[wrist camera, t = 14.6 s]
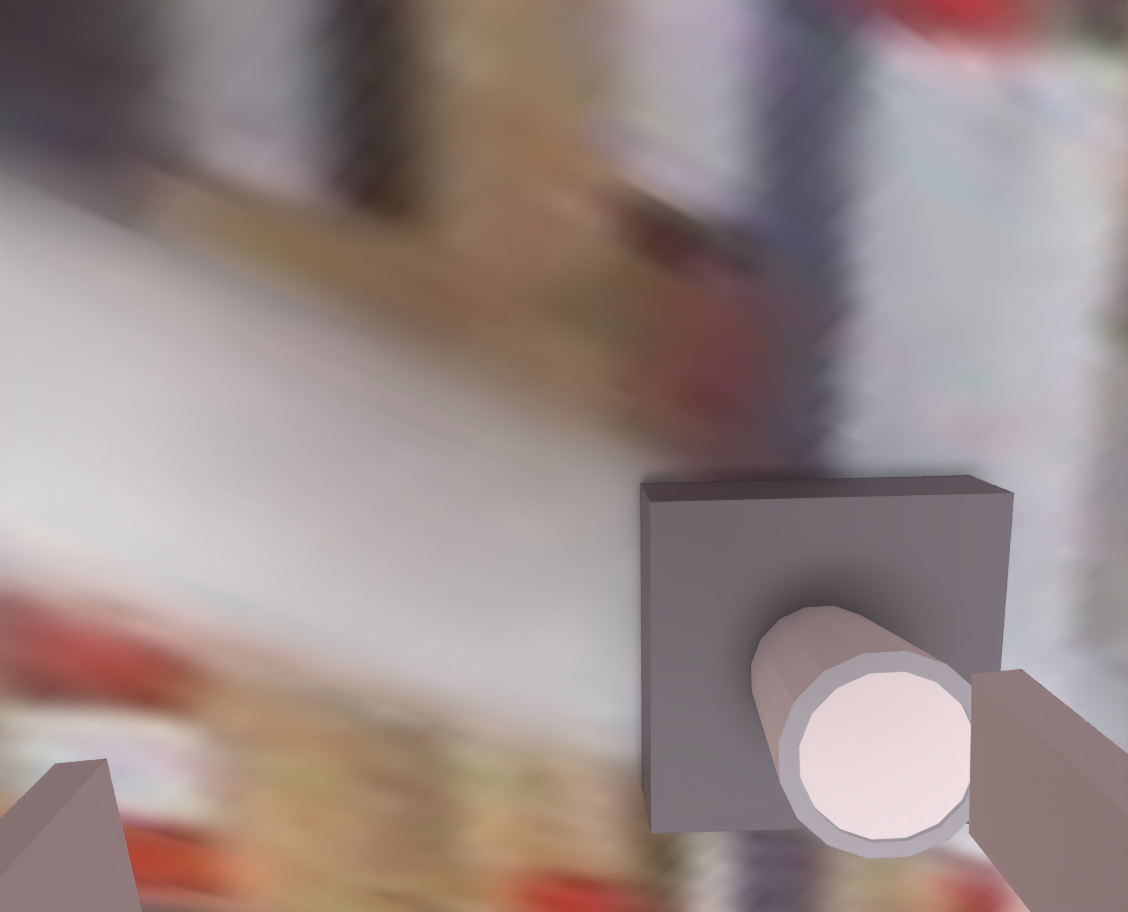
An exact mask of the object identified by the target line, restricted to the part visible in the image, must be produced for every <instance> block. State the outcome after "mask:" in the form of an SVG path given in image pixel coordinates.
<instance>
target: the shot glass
mask: <svg viewBox="0 0 1128 912" xmlns="http://www.w3.org/2000/svg"><path fill="white" fill-rule="evenodd" d="M751 683H752V693H753V697H754V700H755V703H756V707H757V710H758V713H759V716H760V720H761V723H762V726H763V729H764V733H765V736H766V739H767V742H768V746H769V749H770V752H771V755H772V759H773V762H774V765H775V768H776V772H777V775H778V778H779V781H780V784H781V786H782V788H783V790H784V792H785V794H786V796H787V798H788V800H789V802H790V804H791V806H792V809H793V811H794V813H795V815H796V817H797V819H798V820H800V821H801V822H802V823H803V824H804V825H805V826H806V827H808V828H809V829H810V830H811V831H812V832H813V833H815V834H816V835H817V836H818V837H819V838H820V839H822V840H823V841H824V842H825V843H826V844H827V845H829V846H832V847H835V848H838V849H841V850H844V851H847V852H850V853H853V854H856V855H859V856H862V857H865V858H868V859H871V858H890V857H910V856H913V855H915V854H917V853H920V852H922V851H924V850H926V849H929V848H931V847H933V846H935V845H938V844H940V843H942V842H945V841H947V840H949V839H950V838H951V837H952V836H953V835H954V834H955V833H956V832H958V831H959V830H960V829H961V828H962V827H963V826H964V825H965V824H966V823H967V822H968V821H969V799H970V740H971V685H970V684H969V683H968V682H967V681H965V680H964V679H963V678H962V677H961V676H960V675H959V674H958V673H956V672H955V671H954V670H953V669H952V668H951V667H950V666H949V665H947V664H946V663H944V662H942V661H940V660H939V659H937V658H935V657H933V656H932V655H930V654H928V653H926V652H925V651H923V650H921V649H919V648H918V647H916V646H914V645H912V644H911V643H909V642H907V641H905V640H904V639H902V638H900V637H898V636H897V635H895V634H893V633H891V632H890V631H888V630H886V629H884V628H883V627H881V626H879V625H877V624H876V623H874V622H872V621H870V620H868V619H867V618H865V617H863V616H861V615H860V614H857V613H854V612H851V611H848V610H845V609H842V608H839V607H836V606H816V607H804V608H802V609H800V610H798V611H796V612H794V613H791V614H789V615H787V616H785V617H783V618H781V619H779V620H778V621H777V622H776V623H775V624H774V625H773V627H772V628H771V629H770V630H769V631H768V632H767V633H766V634H765V635H764V636H763V637H762V638H761V639H760V642H759V645H758V647H757V650H756V652H755V655H754V658H753V660H752V663H751Z"/></svg>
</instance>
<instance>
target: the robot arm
mask: <svg viewBox="0 0 1128 912" xmlns="http://www.w3.org/2000/svg"><path fill="white" fill-rule="evenodd" d="M969 834H970V835H971V836H972V837H973V839H974V840H975V841H976V843H977V844H978V845H979V846H980V848H981V849H982V850H983V852H984V853H985V854H986V855H987V857H988V858H989V859H990V860H991V862H992V863H993V864H994V866H995V867H996V868H997V869H998V871H999V872H1000V873H1001V874H1002V876H1003V877H1004V878H1005V880H1006V881H1007V882H1008V883H1009V885H1010V886H1011V887H1012V889H1013V890H1014V891H1015V892H1016V894H1017V895H1018V896H1019V897H1020V899H1021V900H1022V901H1023V903H1024V904H1025V905H1026V906H1027V908H1028V909H1029V910H1030V911H1031V912H1128V754H1127V753H1126V752H1125V751H1123V750H1122V749H1121V748H1120V747H1118V746H1117V745H1116V744H1115V743H1113V742H1112V741H1111V740H1110V739H1108V738H1107V737H1106V736H1105V735H1103V734H1102V733H1101V732H1100V731H1098V730H1097V729H1096V728H1095V727H1093V726H1092V725H1091V724H1090V723H1088V722H1087V721H1086V720H1085V719H1083V718H1082V717H1081V716H1079V715H1078V714H1077V713H1076V712H1074V711H1073V710H1072V709H1071V708H1069V707H1068V706H1067V705H1066V704H1064V703H1063V702H1062V701H1061V700H1059V699H1058V698H1057V697H1056V696H1054V695H1053V694H1052V693H1051V692H1049V691H1048V690H1047V689H1046V688H1044V687H1043V686H1042V685H1041V684H1039V683H1038V682H1037V681H1036V680H1034V679H1033V678H1032V677H1031V676H1029V675H1028V674H1027V673H1026V672H1024V671H1023V670H1022V669H1017V670H1006V671H996V672H986V673H976V674H972V681H971V740H970V799H969ZM0 912H142V911H141V906H140V902H139V898H138V893H137V889H136V885H135V880H134V876H133V871H132V867H131V863H130V858H129V854H128V850H127V845H126V841H125V837H124V832H123V828H122V824H121V819H120V815H119V811H118V806H117V802H116V797H115V793H114V789H113V784H112V780H111V776H110V771H109V767H108V763H107V759H98V760H87V761H77V762H67V763H57V764H55V765H54V766H53V767H52V768H51V769H50V770H49V771H48V772H47V773H46V774H45V775H44V776H43V777H42V778H41V779H40V780H39V781H38V782H37V783H36V784H35V785H34V786H33V787H32V788H31V789H30V790H29V791H28V792H27V793H26V794H25V795H24V796H23V797H22V798H21V799H20V800H19V801H18V802H17V803H16V804H15V805H14V806H13V807H12V808H11V809H10V810H9V811H8V812H7V813H6V814H5V815H4V816H3V817H2V818H1V819H0Z"/></svg>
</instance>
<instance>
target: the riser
mask: <svg viewBox="0 0 1128 912" xmlns="http://www.w3.org/2000/svg"><path fill="white" fill-rule="evenodd" d="M1013 500H1014V493H1013V492H1010V491H1008V490H1005V489H1003V488H1000V487H998V486H995V485H992V484H990V483H987V482H985V481H982V480H980V479H977V478H975V477H972V476H970V475H963V476H922V477H882V478H841V479H801V480H760V481H719V482H679V483H640V507H641V691H642V789H643V794H644V799H645V804H646V809H647V814H648V819H649V825H650V830H651V833H683V832H715V831H747V830H780V829H809V828H808V827H806V826H805V825H804V824H803V823H802V822H801V821H800V820H798V819H797V817H796V815H795V813H794V811H793V809H792V806H791V804H790V802H789V800H788V798H787V796H786V794H785V792H784V790H783V788H782V786H781V784H780V781H779V778H778V775H777V772H776V768H775V765H774V762H773V759H772V755H771V752H770V749H769V746H768V742H767V739H766V736H765V733H764V729H763V726H762V723H761V720H760V716H759V713H758V710H757V707H756V703H755V700H754V697H753V693H752V683H751V663H752V660H753V658H754V655H755V652H756V650H757V647H758V645H759V642H760V639H761V638H762V637H763V636H764V635H765V634H766V633H767V632H768V631H769V630H770V629H771V628H772V627H773V625H774V624H775V623H776V622H777V621H778V620H779V619H781V618H783V617H785V616H787V615H789V614H791V613H794V612H796V611H798V610H800V609H802V608H804V607H816V606H836V607H839V608H842V609H845V610H848V611H851V612H854V613H857V614H860V615H861V616H863V617H865V618H867V619H868V620H870V621H872V622H874V623H876V624H877V625H879V626H881V627H883V628H884V629H886V630H888V631H890V632H891V633H893V634H895V635H897V636H898V637H900V638H902V639H904V640H905V641H907V642H909V643H911V644H912V645H914V646H916V647H918V648H919V649H921V650H923V651H925V652H926V653H928V654H930V655H932V656H933V657H935V658H937V659H939V660H940V661H942V662H944V663H946V664H947V665H949V666H950V667H951V668H952V669H953V670H954V671H955V672H956V673H958V674H959V675H960V676H961V677H962V678H963V679H964V680H965V681H967V682H968V683H969V684H970V685H971V681H972V674H976V673H986V672H996V671H1000V669H1001V656H1002V643H1003V630H1004V617H1005V604H1006V591H1007V578H1008V565H1009V552H1010V539H1011V526H1012V513H1013ZM966 824H969V821H968V822H967V823H966Z"/></svg>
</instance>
